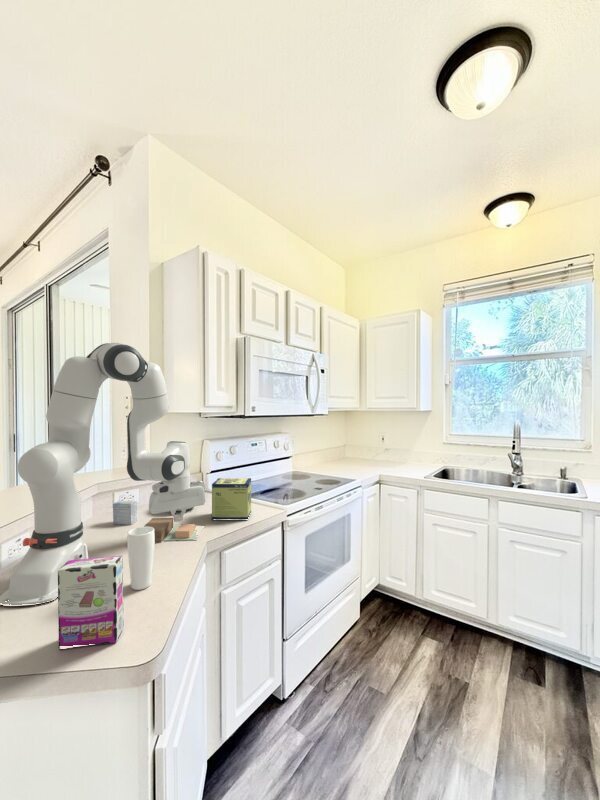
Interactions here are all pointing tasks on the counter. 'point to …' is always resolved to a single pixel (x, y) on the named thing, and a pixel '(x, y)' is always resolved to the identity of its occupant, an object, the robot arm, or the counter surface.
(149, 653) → the counter surface
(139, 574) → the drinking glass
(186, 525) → the terracotta tile
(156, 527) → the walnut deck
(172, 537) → the sage mat
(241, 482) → the protein box
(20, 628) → the counter surface
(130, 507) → the medicine box
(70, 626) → the candy bar box
